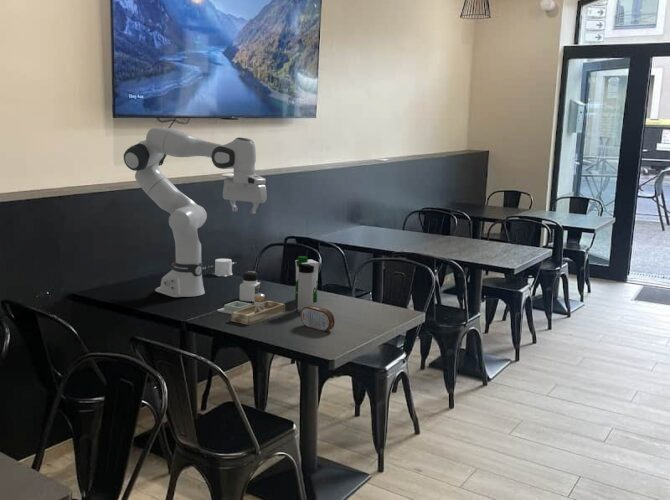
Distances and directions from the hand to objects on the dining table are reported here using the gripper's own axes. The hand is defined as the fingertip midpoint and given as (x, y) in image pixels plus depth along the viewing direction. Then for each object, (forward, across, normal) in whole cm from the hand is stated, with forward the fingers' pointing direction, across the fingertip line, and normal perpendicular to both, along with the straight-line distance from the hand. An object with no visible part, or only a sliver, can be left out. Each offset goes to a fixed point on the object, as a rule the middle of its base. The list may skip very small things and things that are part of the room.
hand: (244, 212), depth 284 cm
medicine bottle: (+39, -4, +10) cm, 41 cm away
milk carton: (+39, +18, +21) cm, 48 cm away
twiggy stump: (+40, -44, +40) cm, 71 cm away
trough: (+39, +16, -10) cm, 43 cm away
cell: (+38, +16, -10) cm, 42 cm away
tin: (+40, +43, -10) cm, 59 cm away
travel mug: (+39, +26, +8) cm, 48 cm away
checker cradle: (+39, +4, -8) cm, 40 cm away
